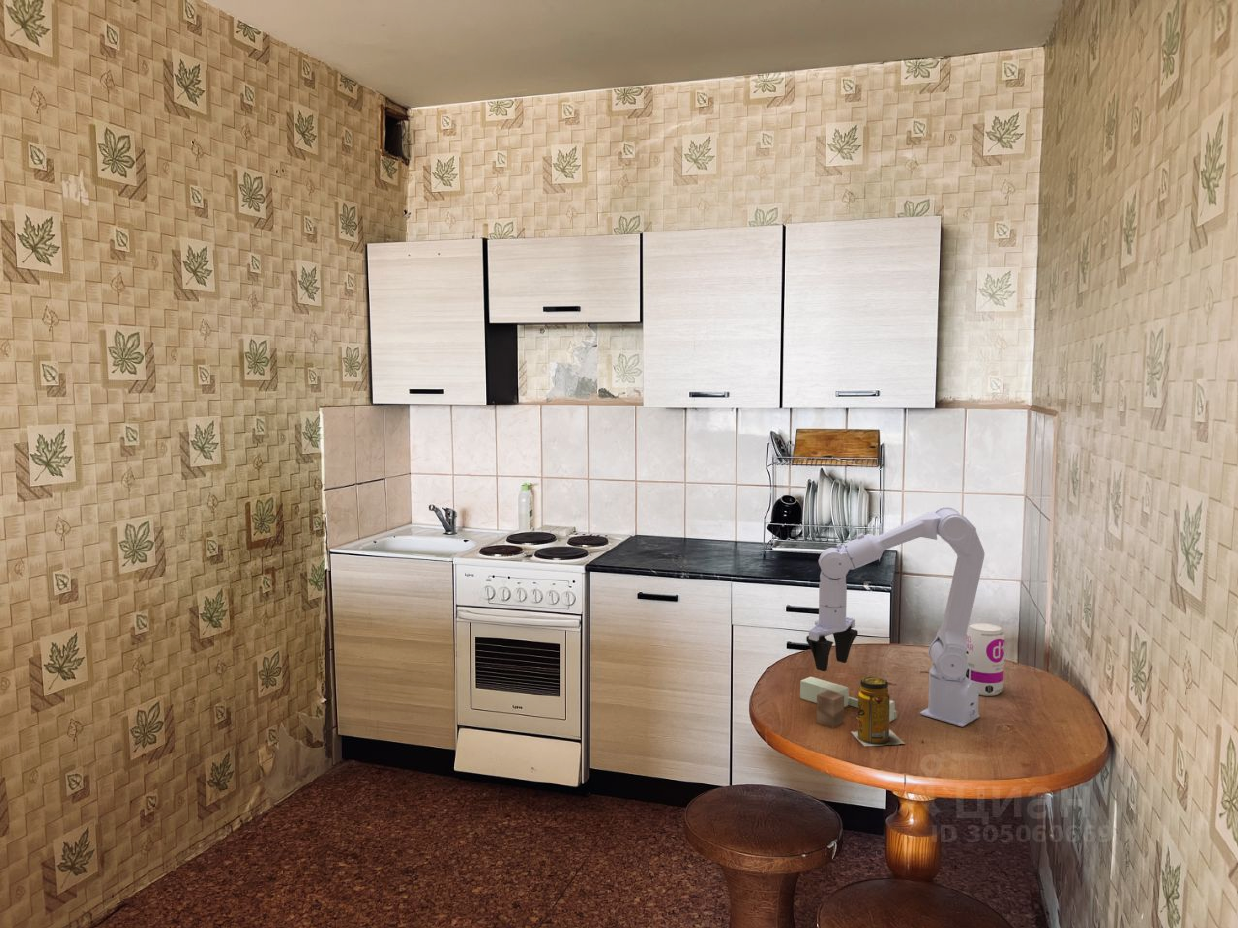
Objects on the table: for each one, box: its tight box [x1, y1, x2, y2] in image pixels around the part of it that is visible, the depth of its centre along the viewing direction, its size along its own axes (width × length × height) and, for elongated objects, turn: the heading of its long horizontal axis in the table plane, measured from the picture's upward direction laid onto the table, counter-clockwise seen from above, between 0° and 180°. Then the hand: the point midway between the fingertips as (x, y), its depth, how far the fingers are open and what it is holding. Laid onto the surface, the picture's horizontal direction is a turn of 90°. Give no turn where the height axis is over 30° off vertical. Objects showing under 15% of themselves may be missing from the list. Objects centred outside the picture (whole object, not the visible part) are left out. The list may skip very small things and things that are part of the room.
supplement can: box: [966, 621, 1006, 697], centre depth 197 cm, size 8×8×15 cm
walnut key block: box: [816, 690, 845, 729], centre depth 180 cm, size 4×4×6 cm
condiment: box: [850, 676, 906, 747], centre depth 171 cm, size 7×8×12 cm
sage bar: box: [799, 675, 898, 723], centre depth 188 cm, size 21×5×4 cm, turn 43°
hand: (831, 665), depth 186 cm, fingers open, 7 cm apart
